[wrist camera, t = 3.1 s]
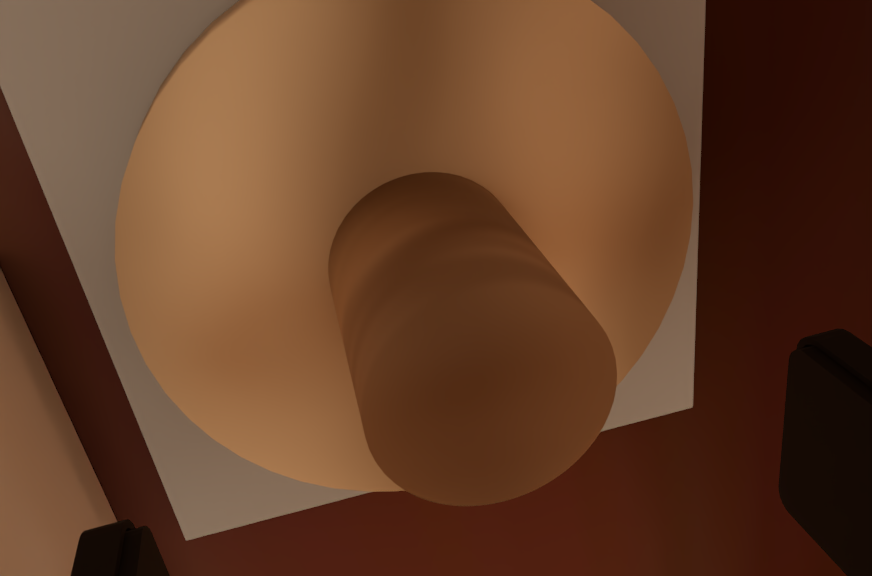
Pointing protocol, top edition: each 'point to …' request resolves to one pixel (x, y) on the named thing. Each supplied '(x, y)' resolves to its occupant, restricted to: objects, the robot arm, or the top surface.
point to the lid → (404, 237)
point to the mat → (106, 164)
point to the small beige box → (39, 461)
